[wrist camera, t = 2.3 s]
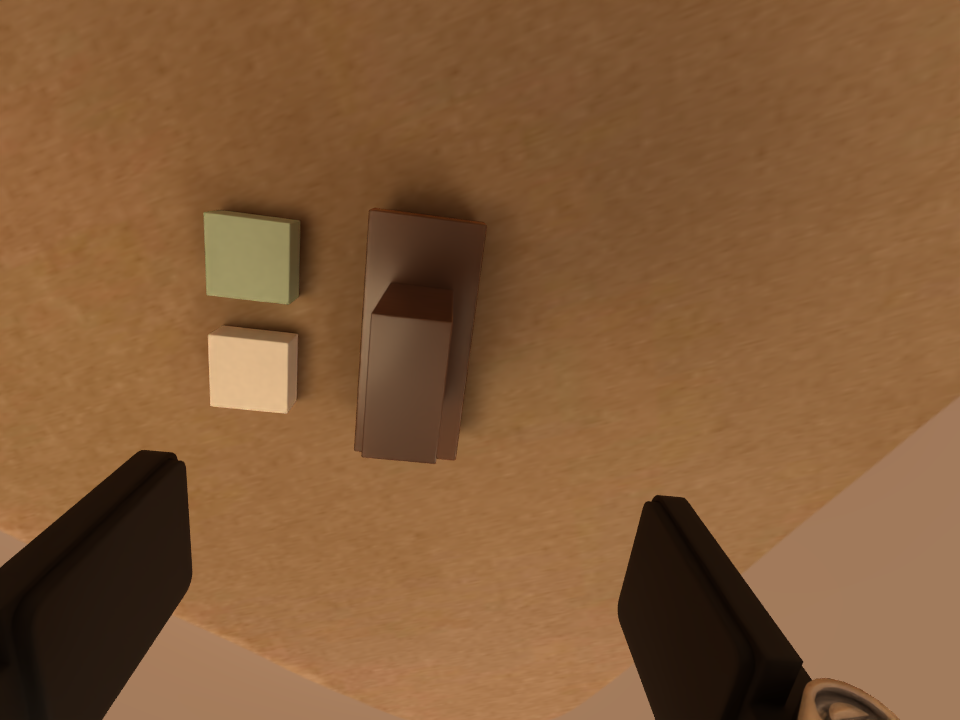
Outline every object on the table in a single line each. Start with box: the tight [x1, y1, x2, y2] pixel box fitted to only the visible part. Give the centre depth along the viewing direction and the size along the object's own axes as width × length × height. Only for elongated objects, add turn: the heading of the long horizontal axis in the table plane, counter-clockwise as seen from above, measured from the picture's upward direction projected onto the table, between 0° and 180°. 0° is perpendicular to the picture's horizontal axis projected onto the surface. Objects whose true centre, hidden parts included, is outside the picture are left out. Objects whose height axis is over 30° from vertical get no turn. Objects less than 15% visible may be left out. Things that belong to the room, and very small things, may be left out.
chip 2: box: [208, 325, 298, 414], centre depth 28 cm, size 4×4×2 cm
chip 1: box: [204, 210, 300, 305], centre depth 26 cm, size 4×4×2 cm
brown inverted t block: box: [354, 208, 487, 464], centre depth 24 cm, size 5×12×9 cm, turn 172°
